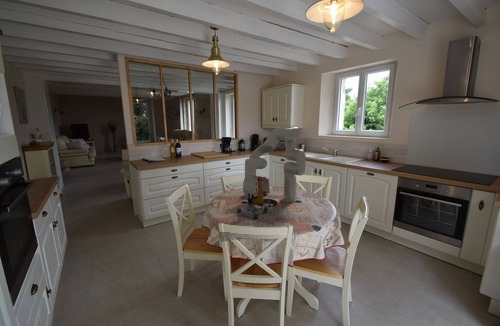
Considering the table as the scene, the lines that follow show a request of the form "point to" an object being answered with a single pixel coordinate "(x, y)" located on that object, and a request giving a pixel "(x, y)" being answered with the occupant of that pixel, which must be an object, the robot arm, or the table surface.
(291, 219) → the table surface
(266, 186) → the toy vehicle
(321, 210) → the table surface
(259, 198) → the coffee package
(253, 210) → the engine block
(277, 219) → the table surface
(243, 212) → the chassis
